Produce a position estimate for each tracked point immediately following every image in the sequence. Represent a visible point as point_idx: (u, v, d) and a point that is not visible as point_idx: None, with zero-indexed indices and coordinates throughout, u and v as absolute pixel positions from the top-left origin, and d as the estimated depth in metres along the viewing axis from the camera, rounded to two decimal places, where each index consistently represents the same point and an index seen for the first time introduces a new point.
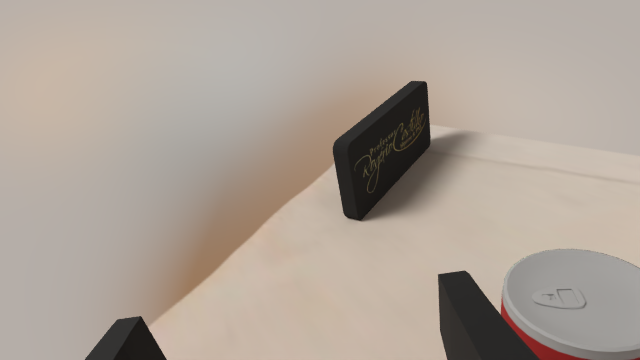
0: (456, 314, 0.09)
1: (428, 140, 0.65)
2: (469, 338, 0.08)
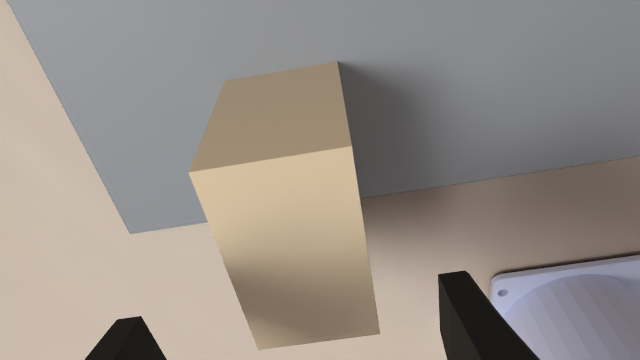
0: (456, 314, 0.09)
1: None
2: (469, 338, 0.08)
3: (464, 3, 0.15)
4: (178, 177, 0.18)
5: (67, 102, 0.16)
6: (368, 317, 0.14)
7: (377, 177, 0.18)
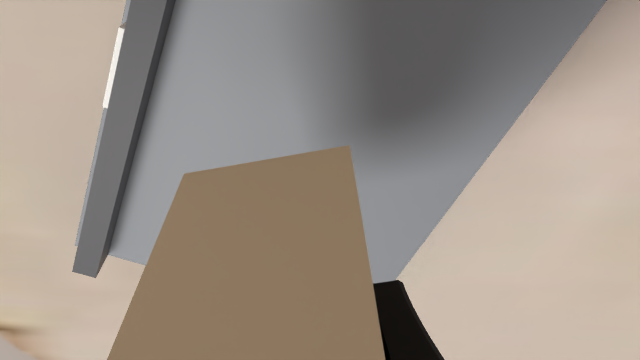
0: (380, 324, 0.09)
1: None
2: (387, 349, 0.08)
3: (366, 29, 0.16)
4: None
5: None
6: None
7: (457, 165, 0.19)
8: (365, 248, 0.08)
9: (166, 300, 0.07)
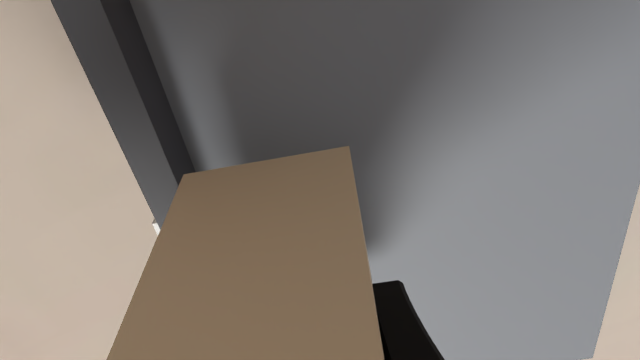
0: (380, 324, 0.09)
1: None
2: (387, 349, 0.08)
3: (401, 63, 0.12)
4: (541, 319, 0.18)
5: None
6: None
7: (619, 140, 0.13)
8: (364, 249, 0.08)
9: (165, 301, 0.07)
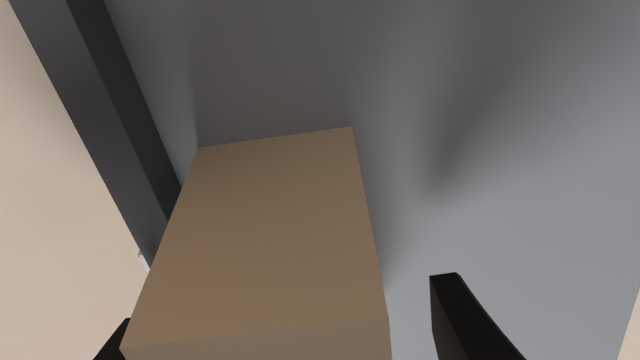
0: (446, 316, 0.09)
1: None
2: (458, 340, 0.08)
3: (409, 82, 0.11)
4: (556, 347, 0.17)
5: None
6: None
7: None
8: (367, 211, 0.09)
9: (189, 251, 0.08)
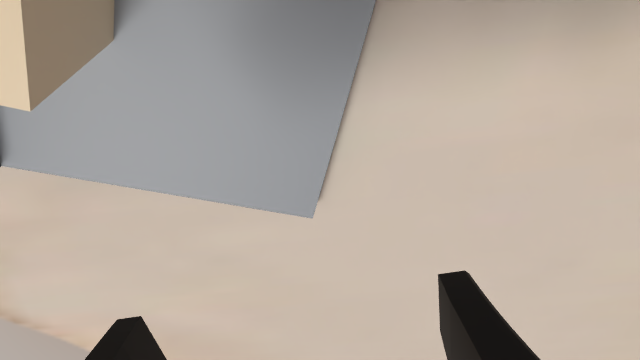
0: (456, 314, 0.09)
1: None
2: (469, 338, 0.08)
3: None
4: (273, 154, 0.19)
5: (177, 191, 0.20)
6: (15, 77, 0.11)
7: None
8: None
9: None
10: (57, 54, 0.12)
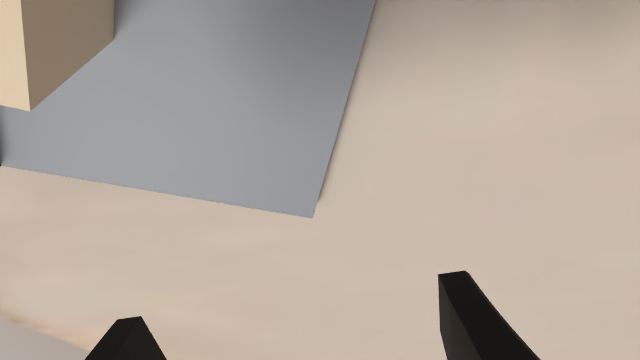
0: (456, 314, 0.09)
1: None
2: (469, 338, 0.08)
3: None
4: (273, 154, 0.19)
5: (177, 191, 0.20)
6: (14, 76, 0.11)
7: None
8: None
9: None
10: (57, 54, 0.12)
